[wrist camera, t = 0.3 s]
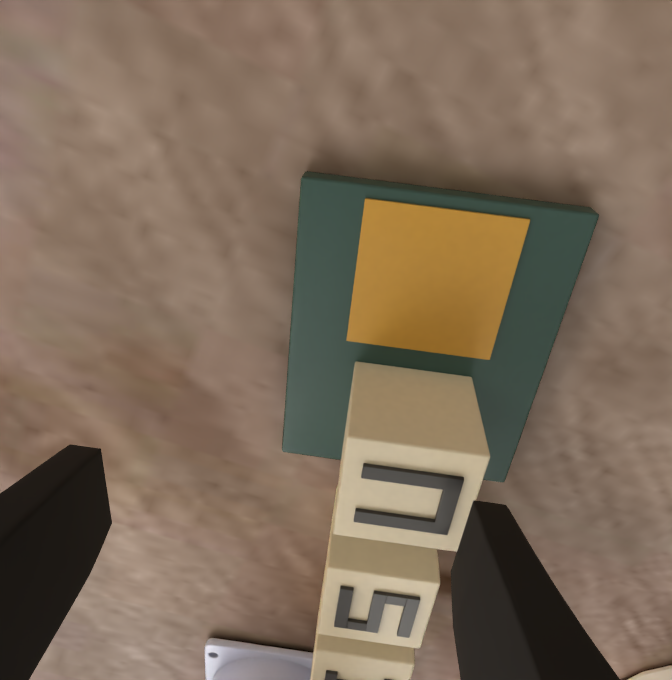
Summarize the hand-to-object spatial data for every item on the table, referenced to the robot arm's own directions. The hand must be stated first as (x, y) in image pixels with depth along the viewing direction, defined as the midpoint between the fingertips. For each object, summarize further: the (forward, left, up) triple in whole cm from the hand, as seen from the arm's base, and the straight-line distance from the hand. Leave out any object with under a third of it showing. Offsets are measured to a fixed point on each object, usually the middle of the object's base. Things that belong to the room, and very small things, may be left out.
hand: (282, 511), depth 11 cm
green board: (-1, -3, -10) cm, 10 cm away
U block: (-4, -3, -9) cm, 10 cm away
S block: (-11, -3, -10) cm, 15 cm away
